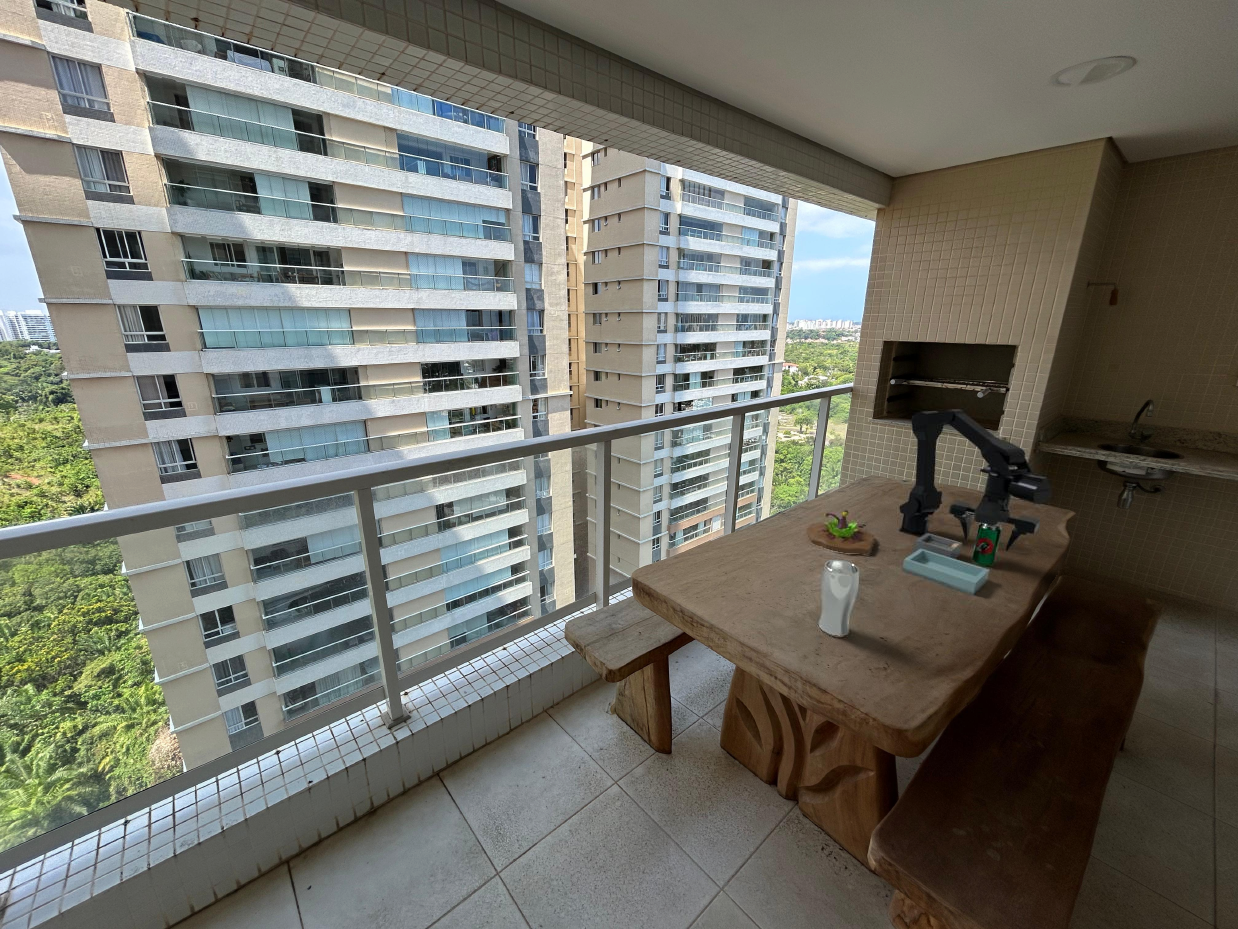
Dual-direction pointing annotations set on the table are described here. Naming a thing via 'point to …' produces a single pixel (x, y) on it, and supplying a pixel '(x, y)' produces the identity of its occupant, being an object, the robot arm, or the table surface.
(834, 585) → the beer glass
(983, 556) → the soda can
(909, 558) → the trough
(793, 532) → the table surface
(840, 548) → the plant
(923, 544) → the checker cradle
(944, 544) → the plate
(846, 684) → the table surface
